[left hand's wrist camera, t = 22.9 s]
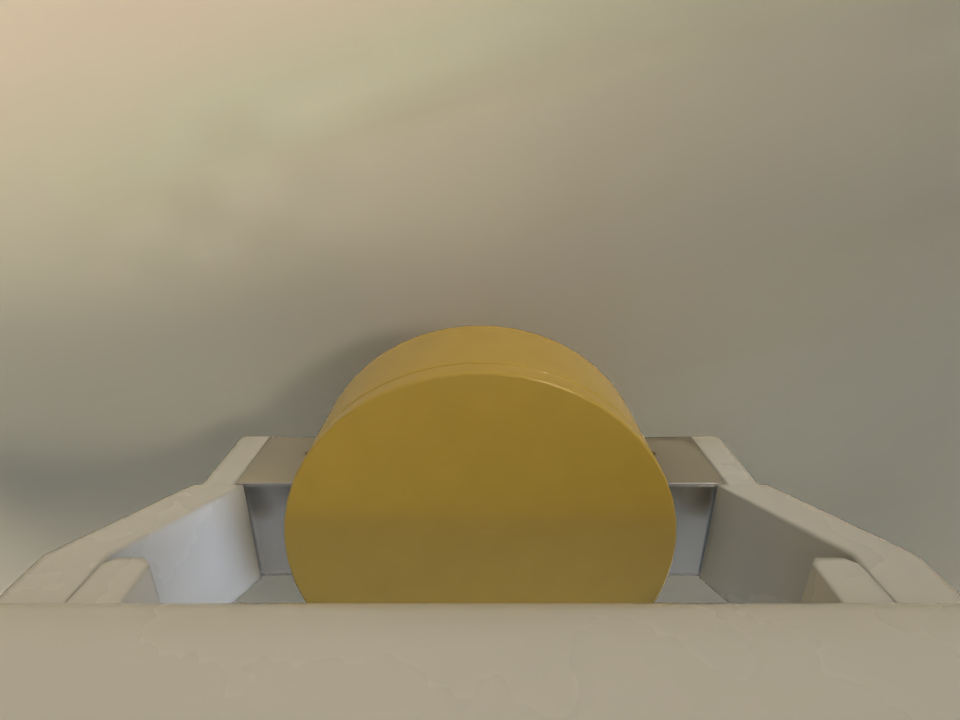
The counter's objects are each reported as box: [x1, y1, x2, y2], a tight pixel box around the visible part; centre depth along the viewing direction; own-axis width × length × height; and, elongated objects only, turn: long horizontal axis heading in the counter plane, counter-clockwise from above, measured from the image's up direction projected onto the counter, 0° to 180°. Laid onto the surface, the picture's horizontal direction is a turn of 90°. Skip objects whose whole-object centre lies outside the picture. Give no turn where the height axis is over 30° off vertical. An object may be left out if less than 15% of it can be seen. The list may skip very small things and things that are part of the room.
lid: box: [284, 326, 676, 603], centre depth 9 cm, size 6×6×2 cm
